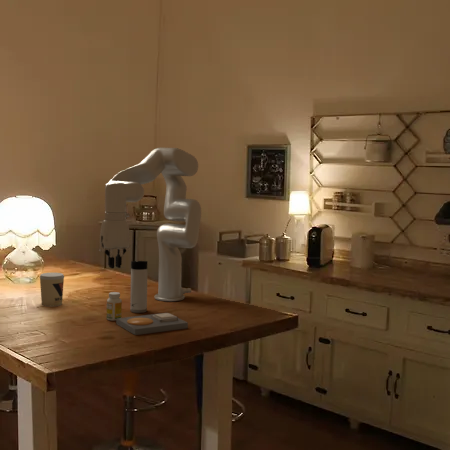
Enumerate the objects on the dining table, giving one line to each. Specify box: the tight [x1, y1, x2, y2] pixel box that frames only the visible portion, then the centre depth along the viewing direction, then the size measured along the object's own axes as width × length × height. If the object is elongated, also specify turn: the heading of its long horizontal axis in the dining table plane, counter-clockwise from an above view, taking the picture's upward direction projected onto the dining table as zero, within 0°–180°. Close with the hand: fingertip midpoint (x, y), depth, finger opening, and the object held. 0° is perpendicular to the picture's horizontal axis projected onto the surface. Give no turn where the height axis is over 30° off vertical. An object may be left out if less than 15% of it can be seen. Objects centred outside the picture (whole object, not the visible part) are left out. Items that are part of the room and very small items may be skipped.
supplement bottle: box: [106, 291, 123, 322], centre depth 236 cm, size 5×5×10 cm
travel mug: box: [130, 260, 148, 314], centre depth 249 cm, size 6×7×20 cm
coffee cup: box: [39, 272, 65, 308], centre depth 256 cm, size 9×9×12 cm
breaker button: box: [154, 312, 175, 319], centre depth 231 cm, size 5×5×3 cm
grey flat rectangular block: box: [115, 312, 189, 336], centre depth 228 cm, size 20×16×3 cm
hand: (114, 267), depth 235 cm, fingers closed
